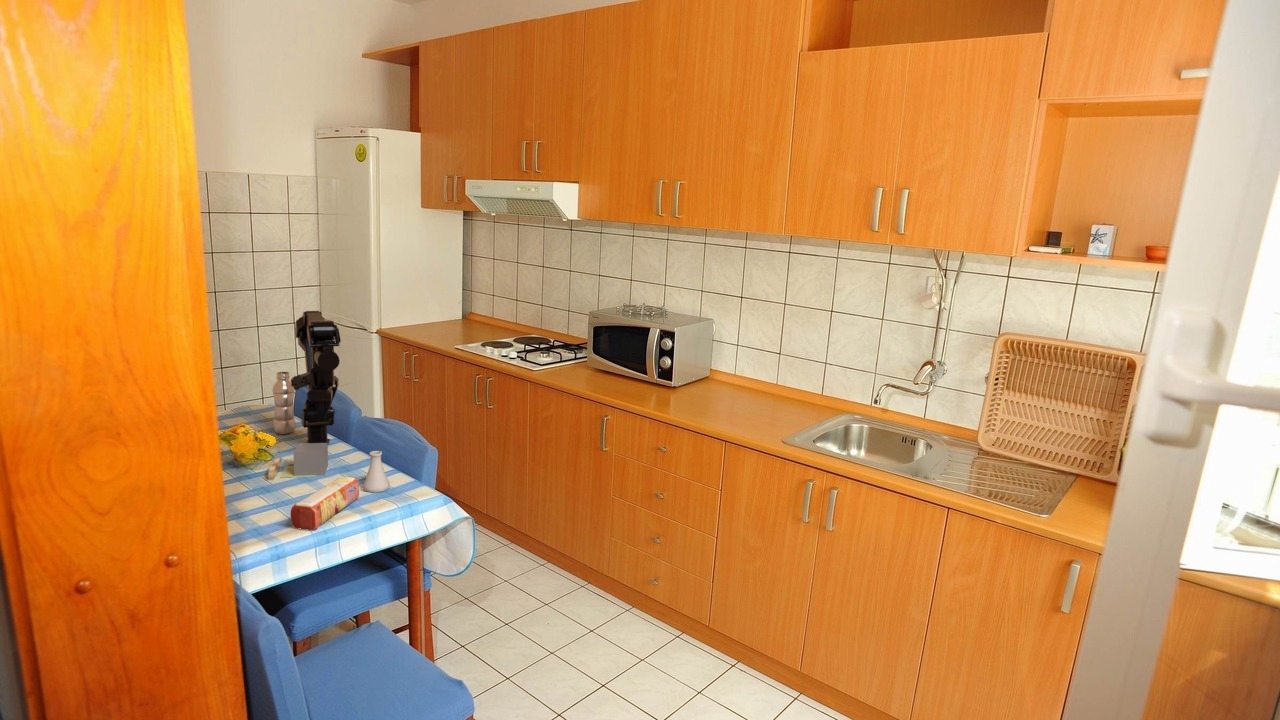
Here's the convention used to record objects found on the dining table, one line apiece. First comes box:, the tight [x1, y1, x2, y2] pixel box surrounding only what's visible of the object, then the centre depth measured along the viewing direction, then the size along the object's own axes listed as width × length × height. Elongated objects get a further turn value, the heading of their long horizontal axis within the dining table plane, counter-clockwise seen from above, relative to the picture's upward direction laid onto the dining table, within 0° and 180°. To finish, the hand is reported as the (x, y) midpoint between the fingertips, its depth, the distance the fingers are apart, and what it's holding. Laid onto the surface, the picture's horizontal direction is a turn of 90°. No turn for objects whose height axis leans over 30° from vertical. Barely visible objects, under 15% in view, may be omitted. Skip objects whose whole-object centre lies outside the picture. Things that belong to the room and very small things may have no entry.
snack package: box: [290, 476, 360, 531], centre depth 179 cm, size 21×7×7 cm, turn 172°
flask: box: [361, 450, 391, 493], centre depth 196 cm, size 7×7×10 cm
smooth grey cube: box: [292, 442, 329, 477], centre depth 205 cm, size 8×8×7 cm
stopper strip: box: [268, 456, 282, 481], centre depth 203 cm, size 12×1×2 cm, turn 16°
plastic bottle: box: [271, 371, 297, 435], centre depth 236 cm, size 6×7×20 cm
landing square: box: [279, 465, 317, 479], centre depth 205 cm, size 9×9×1 cm
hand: (324, 415), depth 214 cm, fingers open, 9 cm apart
